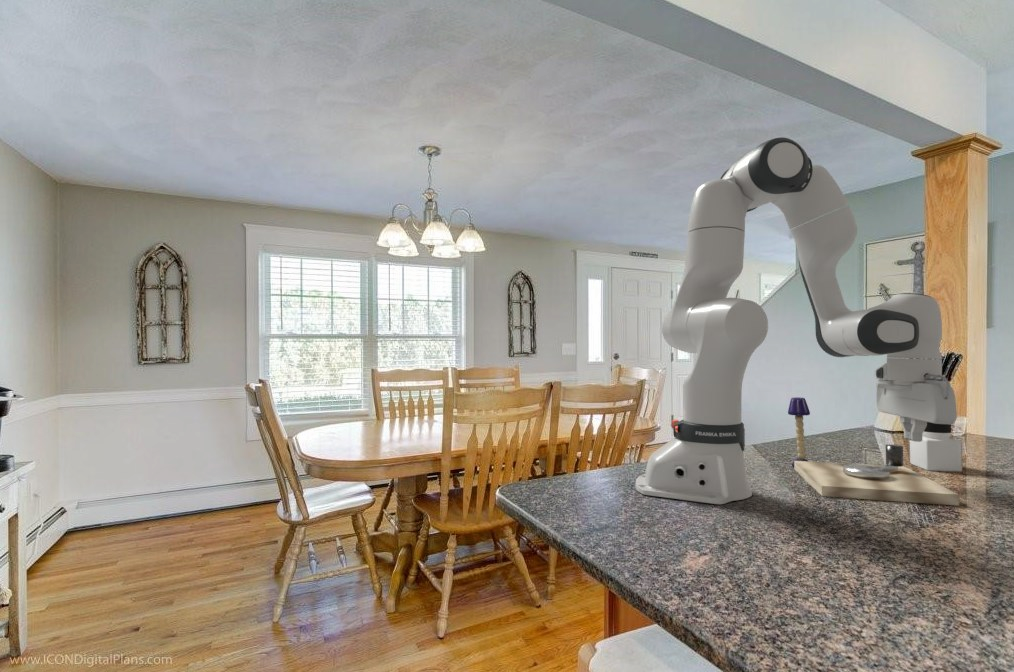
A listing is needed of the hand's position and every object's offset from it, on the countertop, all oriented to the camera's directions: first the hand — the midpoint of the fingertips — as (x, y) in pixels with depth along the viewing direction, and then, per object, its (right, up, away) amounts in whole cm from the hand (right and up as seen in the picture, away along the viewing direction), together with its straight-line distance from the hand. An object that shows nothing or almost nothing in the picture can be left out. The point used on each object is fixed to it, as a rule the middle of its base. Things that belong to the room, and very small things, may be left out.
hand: (913, 440), depth 103 cm
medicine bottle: (+19, -10, +17) cm, 27 cm away
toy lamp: (-12, -11, +19) cm, 25 cm away
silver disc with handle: (-5, -8, +4) cm, 10 cm away
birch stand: (-8, -10, +3) cm, 13 cm away
